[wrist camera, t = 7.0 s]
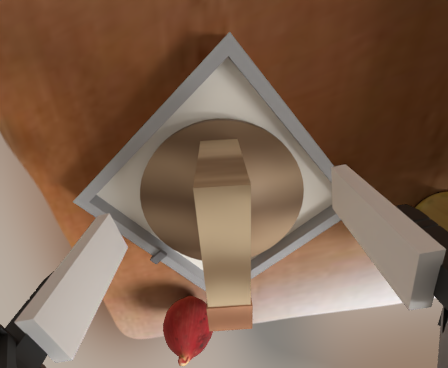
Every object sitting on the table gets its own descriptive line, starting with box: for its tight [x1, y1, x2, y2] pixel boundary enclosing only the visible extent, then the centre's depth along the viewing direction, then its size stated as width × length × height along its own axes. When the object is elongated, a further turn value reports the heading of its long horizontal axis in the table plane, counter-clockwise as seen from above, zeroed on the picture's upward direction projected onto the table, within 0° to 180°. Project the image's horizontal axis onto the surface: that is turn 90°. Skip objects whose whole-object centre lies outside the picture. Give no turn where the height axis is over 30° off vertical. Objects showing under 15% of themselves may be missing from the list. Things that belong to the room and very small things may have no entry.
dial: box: [140, 119, 304, 331], centre depth 19 cm, size 15×15×9 cm
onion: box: [163, 296, 213, 366], centre depth 28 cm, size 6×6×8 cm
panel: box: [73, 32, 341, 291], centre depth 23 cm, size 19×20×3 cm
